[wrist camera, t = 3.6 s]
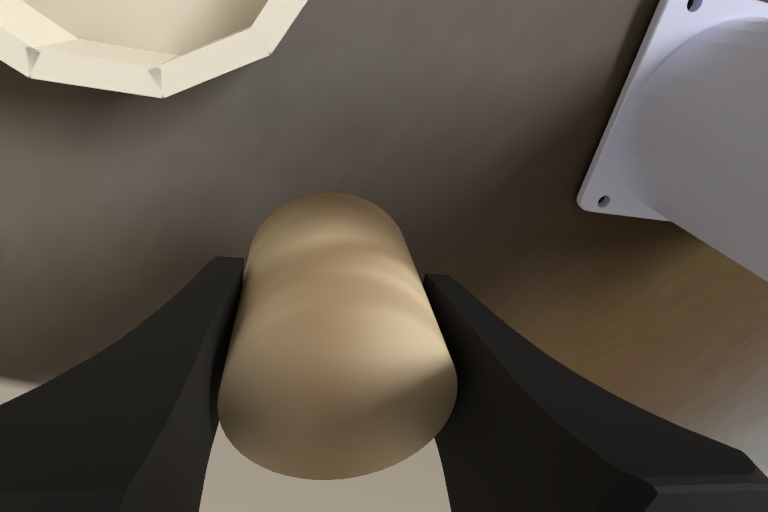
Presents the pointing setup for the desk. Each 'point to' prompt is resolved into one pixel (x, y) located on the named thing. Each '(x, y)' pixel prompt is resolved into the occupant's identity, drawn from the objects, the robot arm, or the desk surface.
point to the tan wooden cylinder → (333, 345)
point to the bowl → (139, 40)
